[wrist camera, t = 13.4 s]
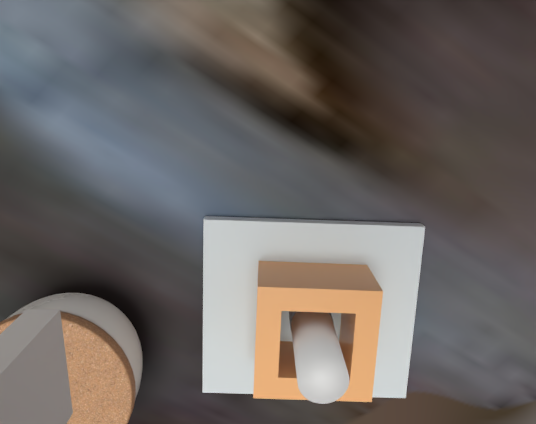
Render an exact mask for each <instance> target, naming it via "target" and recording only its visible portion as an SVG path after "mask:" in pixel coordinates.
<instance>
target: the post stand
mask: <svg viewBox="0 0 536 424" xmlns="http://www.w3.org/2000/svg"><path fill="white" fill-rule="evenodd" d="M424 234H425V226H424V225H422V224H421V223H396V222H366V221H336V220H306V219H276V218H245V217H215V216H205V218H204V230H203V393H239V394H253V391H254V363H255V337H256V312H257V286H258V261H279V262H306V263H333V264H360V265H368V267H369V269H370V270H371V272H372V274H373V275H374V277H375V279H376V280H377V282H378V284H379V285H380V287H381V289H382V290H383V298H382V307H381V317H380V327H379V336H378V346H377V356H376V366H375V375H374V385H373V395H372V397H385V398H406V391H407V382H408V373H409V365H410V356H411V347H412V338H413V330H414V321H415V312H416V303H417V295H418V286H419V277H420V269H421V260H422V251H423V242H424ZM340 325H341V313H325V312H297V311H282V313H281V332H280V341H291V342H293V349H294V358H295V366H296V375H297V383H298V388H299V390H300V392H301V394H302V395H303V396H304V397H305V398H306V399H308V400H310V401H312V402H314V403H320V404H326V403H331V402H334V401H336V400H338V399H339V398H340V397H342V396H343V395H344V393H345V392H346V390H347V388H348V386H349V374H348V370H347V367H346V364H345V360H344V357H343V354H342V350H341V347H340V344H339V337H340Z"/></svg>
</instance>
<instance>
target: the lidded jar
mask: <svg viewBox="0 0 536 424" xmlns="http://www.w3.org/2000/svg"><path fill="white" fill-rule="evenodd" d="M26 309H60V313H61V321H62V329H63V337H64V345H65V353H66V361H67V369H68V378H69V386H70V394H71V402H72V410H73V414H72V415H71V417H70V419H69V420H68V422H67V424H127V423H128V421H129V419H130V416H131V413H132V410H133V407H134V403H135V399H136V396H137V393H138V390H139V387H140V382H141V376H142V369H143V359H142V349H141V344H140V340H139V338H138V335H137V332H136V330H135V328H134V327H133V325H132V323H131V322H130V320H129V319H128V318H127V317H126V315H125V314H124V313H123V312H121V311H120V310H119V309H118V308H117V307H115V306H114V305H112V304H111V303H110V302H108V301H106V300H104V299H101V298H99V297H96V296H93V295H90V294H84V293H61V294H54V295H50V296H47V297H44V298H41V299H38V300H36V301H34V302H32V303H30V304H27V305H26V306H24V307H22V308H20V309H19V310H17V311H16V312H15V313H13V314H12V315H10V316H9V317H8V318H6V319H5V320H3V321H2V322H0V334H1V333H2V332H3V331H4V330H5V329H6V328H7V327H8V326H9V325H11V324H12V323H13V322H14V321H15V320H16V319H17V318H18V317H19V316H20V315H21V314H22V313H23V312H24V311H25V310H26Z"/></svg>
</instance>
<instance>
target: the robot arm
mask: <svg viewBox="0 0 536 424" xmlns="http://www.w3.org/2000/svg"><path fill="white" fill-rule="evenodd" d="M72 414H73V410H72V402H71V394H70V386H69V378H68V369H67V361H66V353H65V345H64V337H63V329H62V321H61V313H60V309H26V310H25V311H24V312H23V313H22V314H21V315H20V316H19V317H18V318H17V319H16V320H15V321H14V322H13V323H12V324H11V325H9V326H8V327H7V328H6V329H5V330H4V331H3V332H2V333H1V334H0V424H67V422H68V420H69V419H70V417H71V415H72Z"/></svg>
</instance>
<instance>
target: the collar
mask: <svg viewBox="0 0 536 424" xmlns="http://www.w3.org/2000/svg"><path fill="white" fill-rule="evenodd" d="M382 298H383V290H382V289H381V287H380V285H379V284H378V282H377V280H376V279H375V277H374V275H373V274H372V272H371V270H370V269H369V267H368V265H360V264H333V263H306V262H279V261H258V286H257V312H256V337H255V363H254V391H253V398H263V399H294V400H308V399H306V398H305V397H304V396H303V395H302V394H301V392H300V390H299V388H298V383H297V375H296V366H295V358H294V349H293V342H291V341H280V332H281V313H282V311H297V312H325V313H341V325H340V337H339V344H340V347H341V350H342V354H343V357H344V360H345V364H346V367H347V370H348V374H349V386H348V388H347V390H346V392H345V393H344V395H343V396H342V397H340V398H339V399H338V400H336V401H356V402H372V395H373V385H374V375H375V366H376V356H377V346H378V336H379V327H380V317H381V307H382Z"/></svg>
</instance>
